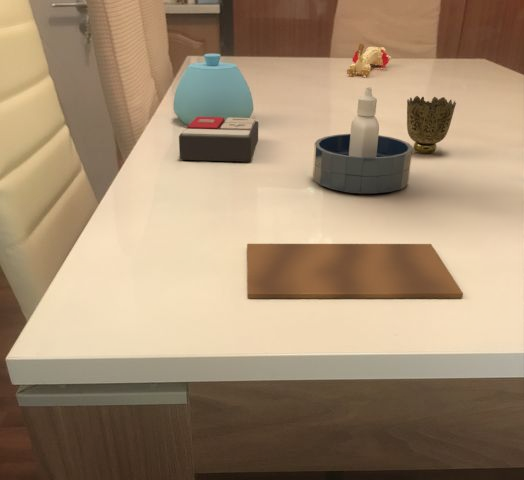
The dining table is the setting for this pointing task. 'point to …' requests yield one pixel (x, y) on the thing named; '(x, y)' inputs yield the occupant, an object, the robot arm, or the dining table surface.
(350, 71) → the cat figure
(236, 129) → the dark flat box
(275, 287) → the brown wooden board
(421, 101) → the cup
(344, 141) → the bowl
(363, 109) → the eye dropper bottle
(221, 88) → the sugar bowl
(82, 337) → the dining table surface
